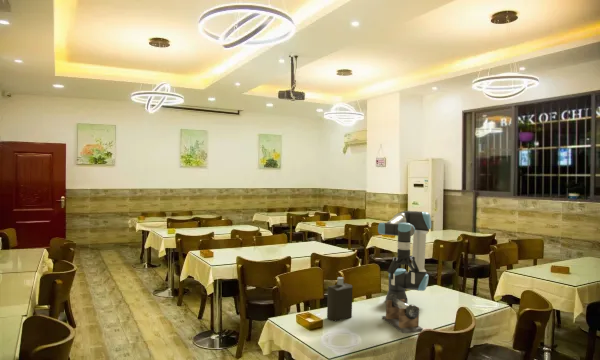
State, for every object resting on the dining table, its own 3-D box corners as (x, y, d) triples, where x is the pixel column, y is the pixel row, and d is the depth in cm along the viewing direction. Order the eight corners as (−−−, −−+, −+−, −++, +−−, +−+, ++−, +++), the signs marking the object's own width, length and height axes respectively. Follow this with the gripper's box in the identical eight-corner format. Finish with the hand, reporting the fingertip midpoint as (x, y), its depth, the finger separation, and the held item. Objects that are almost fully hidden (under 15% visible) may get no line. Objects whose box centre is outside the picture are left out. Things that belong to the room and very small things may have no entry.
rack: (402, 333, 239) (403, 311, 239) (382, 318, 262) (382, 298, 262) (422, 330, 243) (423, 309, 243) (400, 316, 266) (401, 297, 266)
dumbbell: (406, 319, 241) (407, 306, 240) (386, 307, 263) (386, 294, 262) (418, 318, 243) (419, 305, 243) (397, 306, 265) (398, 293, 265)
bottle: (353, 317, 264) (354, 277, 263) (333, 322, 254) (335, 281, 254) (344, 313, 270) (345, 274, 270) (325, 318, 261) (326, 278, 260)
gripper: (388, 250, 244) (387, 287, 245) (425, 249, 252) (424, 284, 252) (382, 248, 252) (381, 283, 252) (418, 246, 259) (417, 281, 260)
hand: (402, 284), depth 252 cm, fingers open, 13 cm apart
